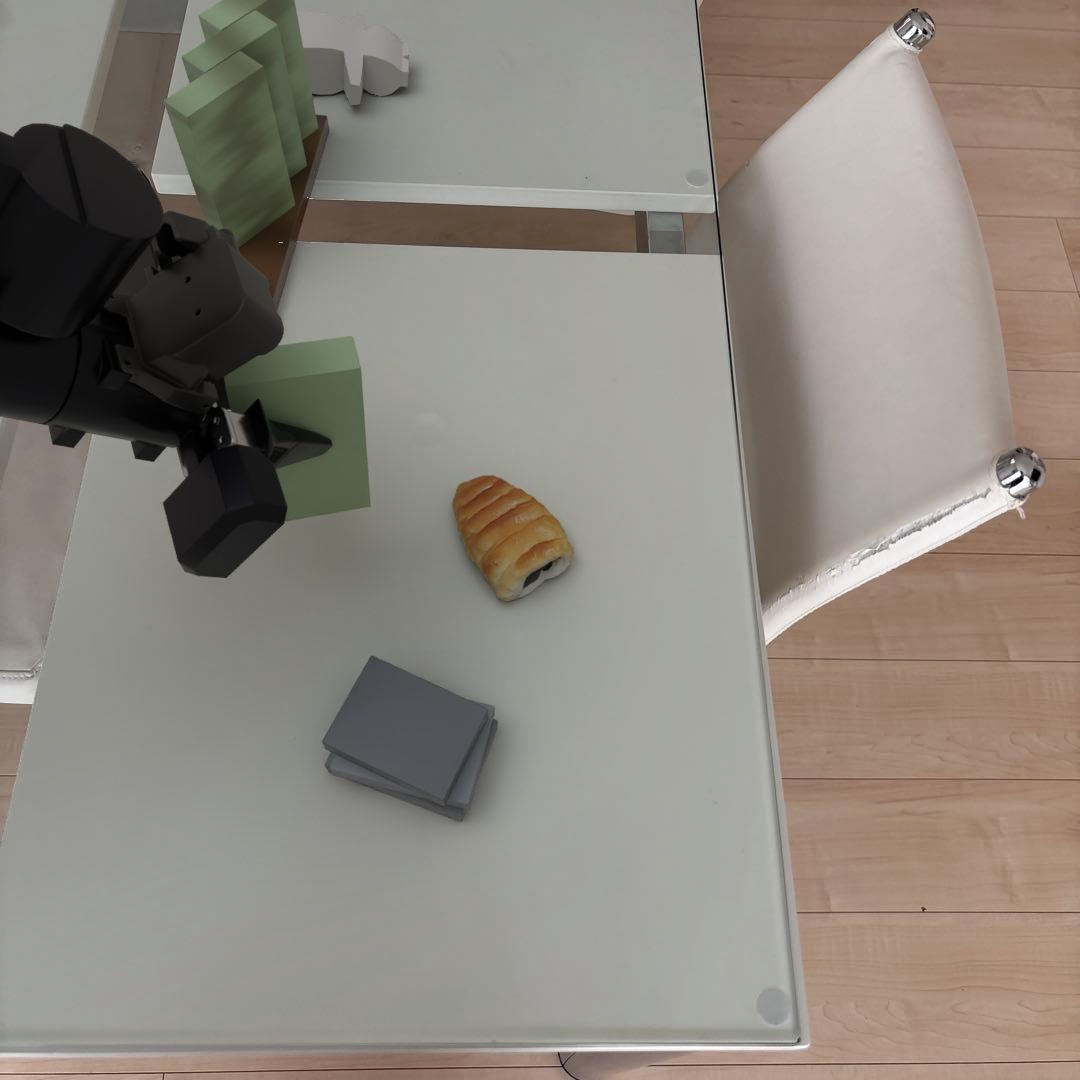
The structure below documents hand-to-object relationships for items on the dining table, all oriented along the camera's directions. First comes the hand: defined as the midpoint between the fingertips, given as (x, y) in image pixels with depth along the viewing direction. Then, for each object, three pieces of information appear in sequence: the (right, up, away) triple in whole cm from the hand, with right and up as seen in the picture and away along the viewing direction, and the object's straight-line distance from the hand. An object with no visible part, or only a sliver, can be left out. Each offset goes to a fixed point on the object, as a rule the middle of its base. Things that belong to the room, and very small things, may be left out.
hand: (320, 426), depth 56 cm
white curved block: (-7, +35, +32) cm, 48 cm away
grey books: (+5, -20, +5) cm, 21 cm away
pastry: (+11, -7, +12) cm, 18 cm away
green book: (-2, -4, +6) cm, 7 cm away
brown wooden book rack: (-11, +17, +23) cm, 31 cm away
